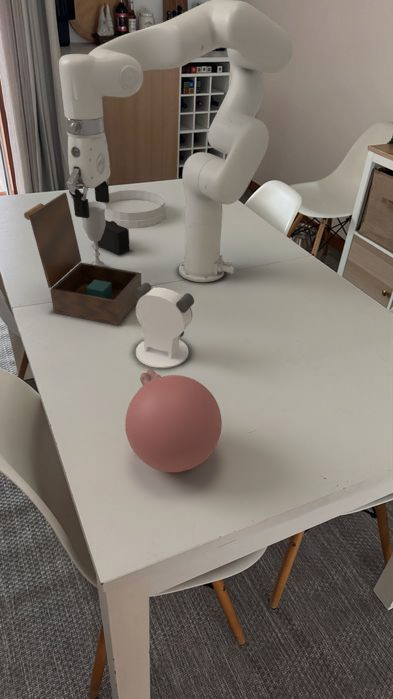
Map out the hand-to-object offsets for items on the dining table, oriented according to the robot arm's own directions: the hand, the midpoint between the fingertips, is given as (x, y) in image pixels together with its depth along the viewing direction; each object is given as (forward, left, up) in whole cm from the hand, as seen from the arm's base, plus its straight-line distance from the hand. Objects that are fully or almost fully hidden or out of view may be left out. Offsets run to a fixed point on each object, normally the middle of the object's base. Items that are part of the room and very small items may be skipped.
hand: (92, 209), depth 111 cm
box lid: (+10, 0, -9) cm, 13 cm away
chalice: (+9, -16, -24) cm, 30 cm away
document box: (+1, 0, -24) cm, 24 cm away
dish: (+16, -57, -24) cm, 64 cm away
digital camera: (+11, -31, -24) cm, 41 cm away
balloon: (-32, +40, -24) cm, 56 cm away
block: (0, 0, -23) cm, 23 cm away
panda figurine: (-21, +14, -24) cm, 35 cm away
